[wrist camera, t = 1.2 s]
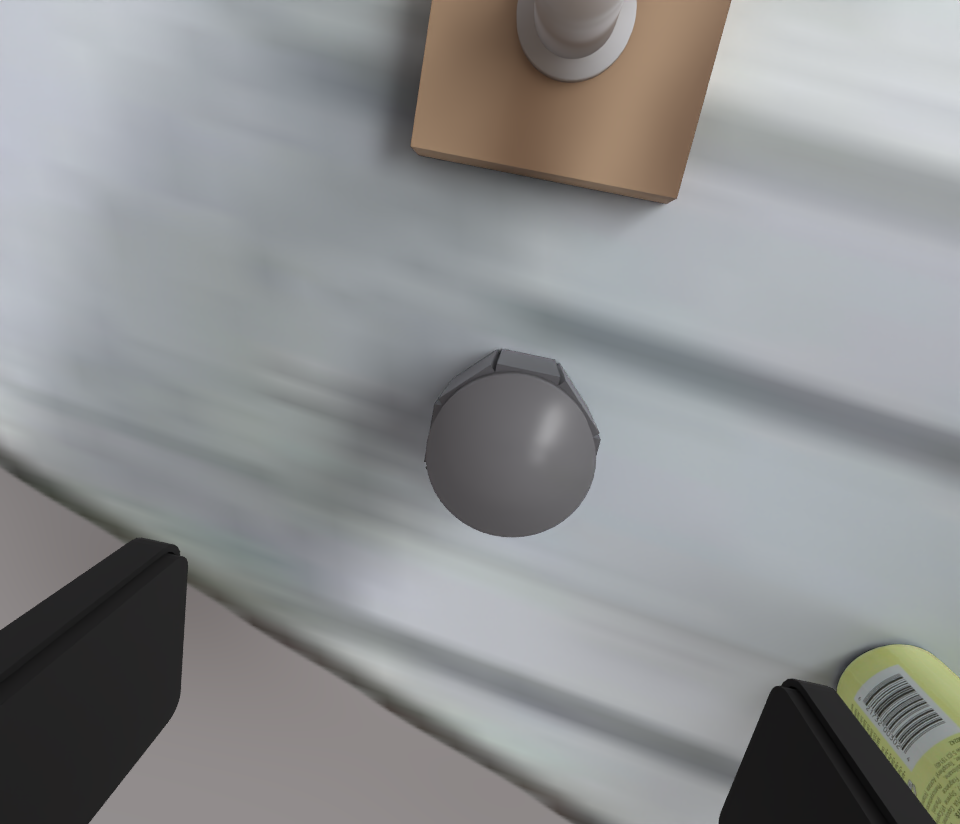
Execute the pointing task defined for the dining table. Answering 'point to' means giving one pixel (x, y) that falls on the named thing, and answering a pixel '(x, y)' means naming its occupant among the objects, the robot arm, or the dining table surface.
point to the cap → (511, 445)
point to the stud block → (569, 89)
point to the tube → (911, 720)
